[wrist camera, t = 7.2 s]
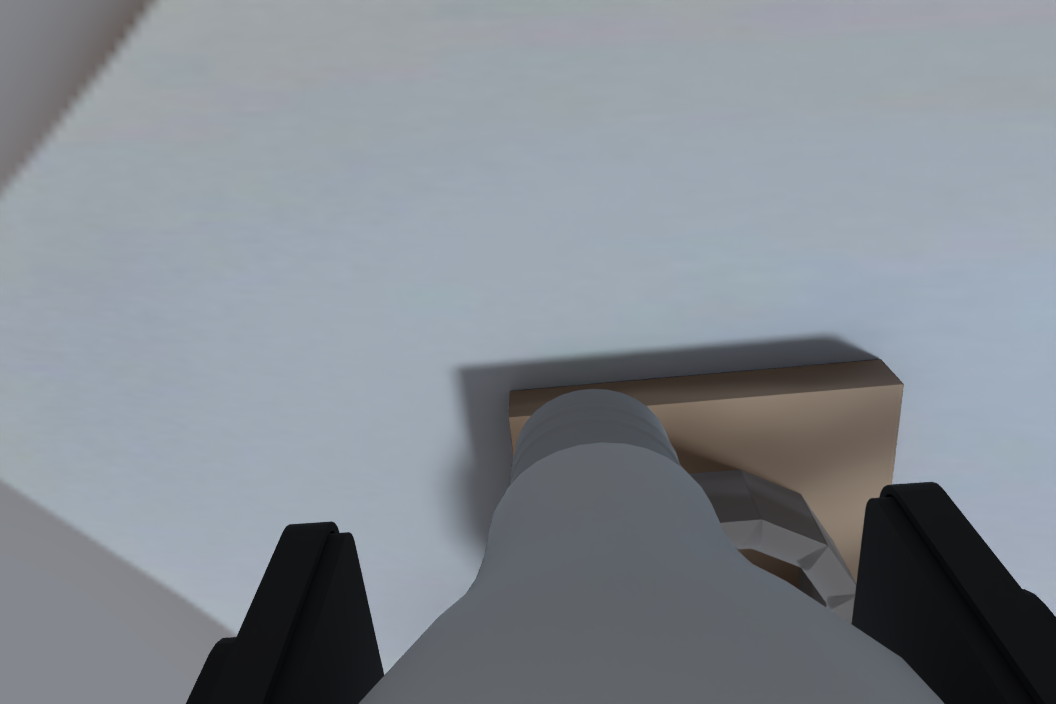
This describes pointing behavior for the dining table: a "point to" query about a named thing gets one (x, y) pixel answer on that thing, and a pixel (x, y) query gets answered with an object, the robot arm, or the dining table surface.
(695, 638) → the lightbulb
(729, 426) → the socket base
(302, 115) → the dining table surface
